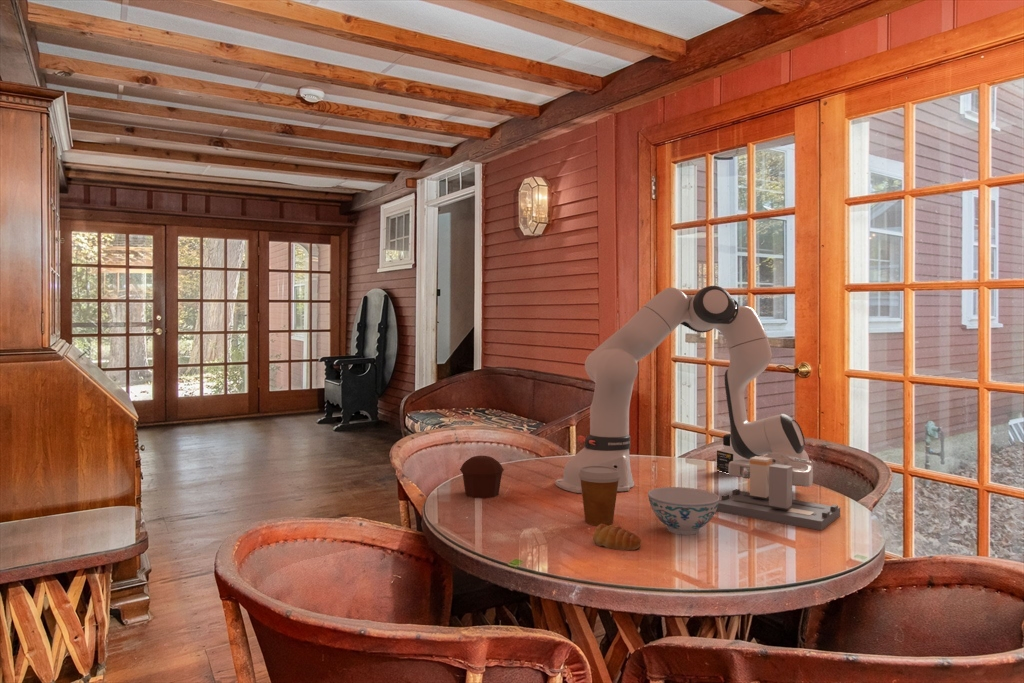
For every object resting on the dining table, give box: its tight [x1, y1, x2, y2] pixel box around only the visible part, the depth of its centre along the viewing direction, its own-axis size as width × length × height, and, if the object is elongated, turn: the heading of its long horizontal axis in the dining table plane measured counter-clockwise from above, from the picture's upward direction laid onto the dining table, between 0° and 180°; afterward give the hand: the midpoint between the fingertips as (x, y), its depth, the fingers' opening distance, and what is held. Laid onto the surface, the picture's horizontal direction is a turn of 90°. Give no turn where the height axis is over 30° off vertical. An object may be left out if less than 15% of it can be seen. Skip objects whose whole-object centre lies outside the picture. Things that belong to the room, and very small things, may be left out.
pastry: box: [592, 524, 642, 551], centre depth 130 cm, size 9×7×4 cm
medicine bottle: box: [716, 433, 750, 473], centre depth 201 cm, size 7×7×12 cm
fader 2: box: [769, 464, 793, 510], centre depth 150 cm, size 4×4×10 cm
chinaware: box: [647, 486, 720, 536], centre depth 140 cm, size 15×15×8 cm
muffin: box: [459, 455, 505, 499], centre depth 171 cm, size 12×11×10 cm
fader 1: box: [749, 456, 772, 500], centre depth 160 cm, size 4×4×10 cm
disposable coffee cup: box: [578, 466, 621, 527], centre depth 146 cm, size 10×10×12 cm
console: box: [716, 488, 841, 531], centre depth 155 cm, size 24×16×3 cm, turn 50°
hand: (759, 477), depth 160 cm, fingers open, 6 cm apart
